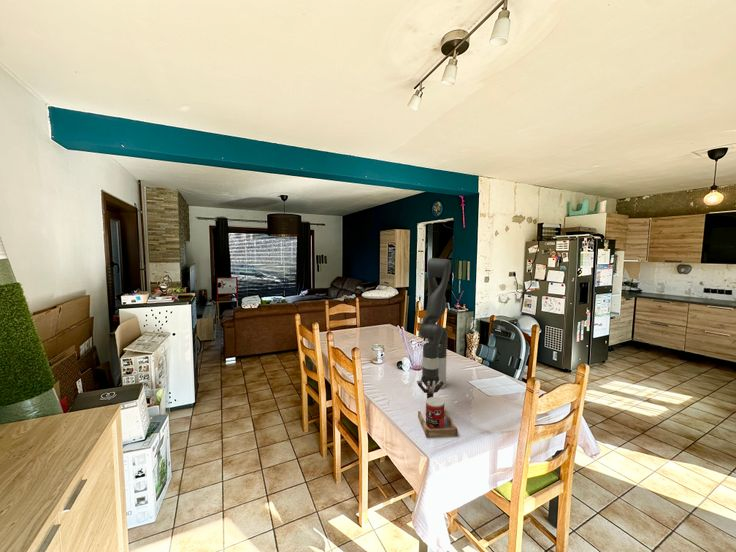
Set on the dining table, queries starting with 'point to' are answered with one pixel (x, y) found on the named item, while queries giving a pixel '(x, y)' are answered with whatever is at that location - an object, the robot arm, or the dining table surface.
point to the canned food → (435, 413)
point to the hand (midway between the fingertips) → (429, 400)
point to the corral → (439, 432)
